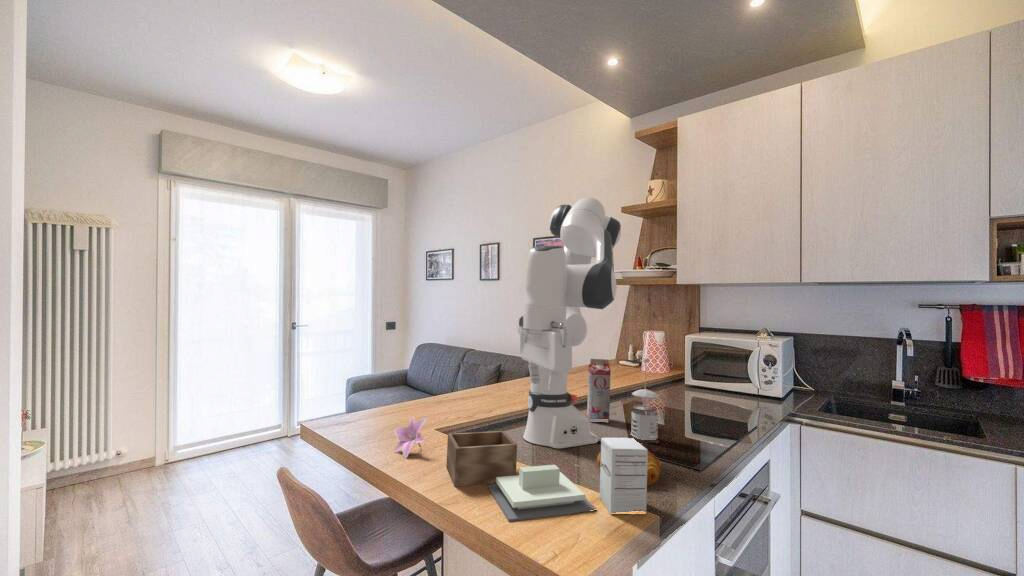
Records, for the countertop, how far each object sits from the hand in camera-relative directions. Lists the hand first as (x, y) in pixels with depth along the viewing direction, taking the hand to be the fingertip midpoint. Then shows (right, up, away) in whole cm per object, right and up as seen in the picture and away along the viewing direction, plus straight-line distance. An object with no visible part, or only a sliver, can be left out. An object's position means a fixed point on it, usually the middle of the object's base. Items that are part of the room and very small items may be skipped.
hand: (543, 387), depth 87 cm
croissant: (+22, -25, +14) cm, 36 cm away
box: (-14, -23, +10) cm, 28 cm away
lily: (-34, -23, +23) cm, 47 cm away
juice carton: (+25, -27, +63) cm, 73 cm away
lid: (-1, -22, -1) cm, 22 cm away
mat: (-1, -23, -1) cm, 23 cm away
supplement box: (+16, -23, -3) cm, 28 cm away
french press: (+35, -27, +44) cm, 62 cm away
